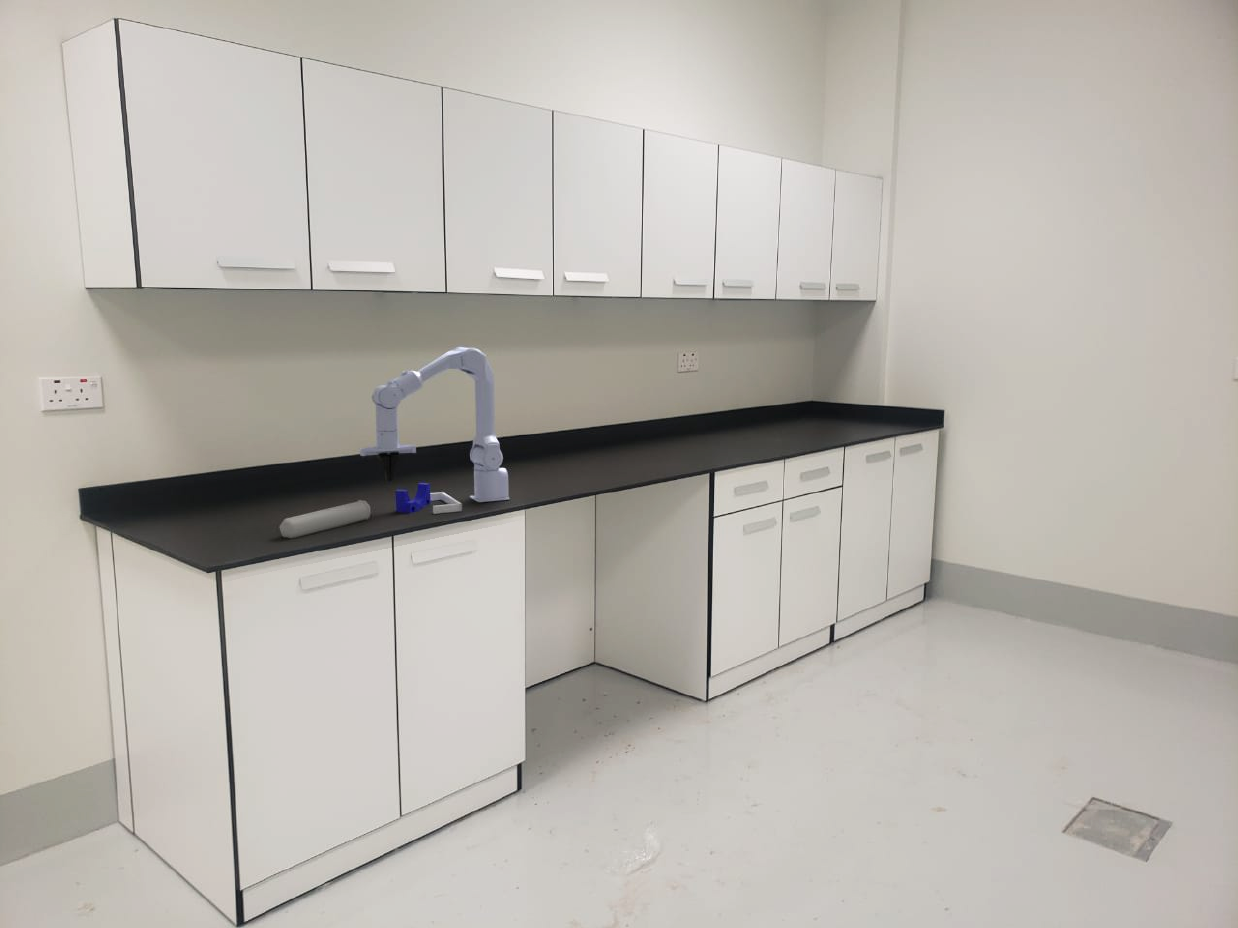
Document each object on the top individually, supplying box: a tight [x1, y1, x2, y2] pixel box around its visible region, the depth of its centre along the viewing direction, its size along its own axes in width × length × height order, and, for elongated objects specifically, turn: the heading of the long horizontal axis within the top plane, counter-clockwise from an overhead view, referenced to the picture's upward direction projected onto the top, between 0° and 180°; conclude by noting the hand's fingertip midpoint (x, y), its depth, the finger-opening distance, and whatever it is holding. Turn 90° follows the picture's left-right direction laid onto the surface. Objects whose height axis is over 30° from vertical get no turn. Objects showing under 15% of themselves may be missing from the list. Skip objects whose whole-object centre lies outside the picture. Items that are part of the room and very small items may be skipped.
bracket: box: [430, 491, 463, 515], centre depth 244 cm, size 8×18×2 cm, turn 28°
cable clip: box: [394, 482, 431, 514], centre depth 242 cm, size 12×4×6 cm, turn 159°
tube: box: [279, 499, 371, 539], centre depth 218 cm, size 5×5×25 cm
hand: (389, 480), depth 237 cm, fingers closed
